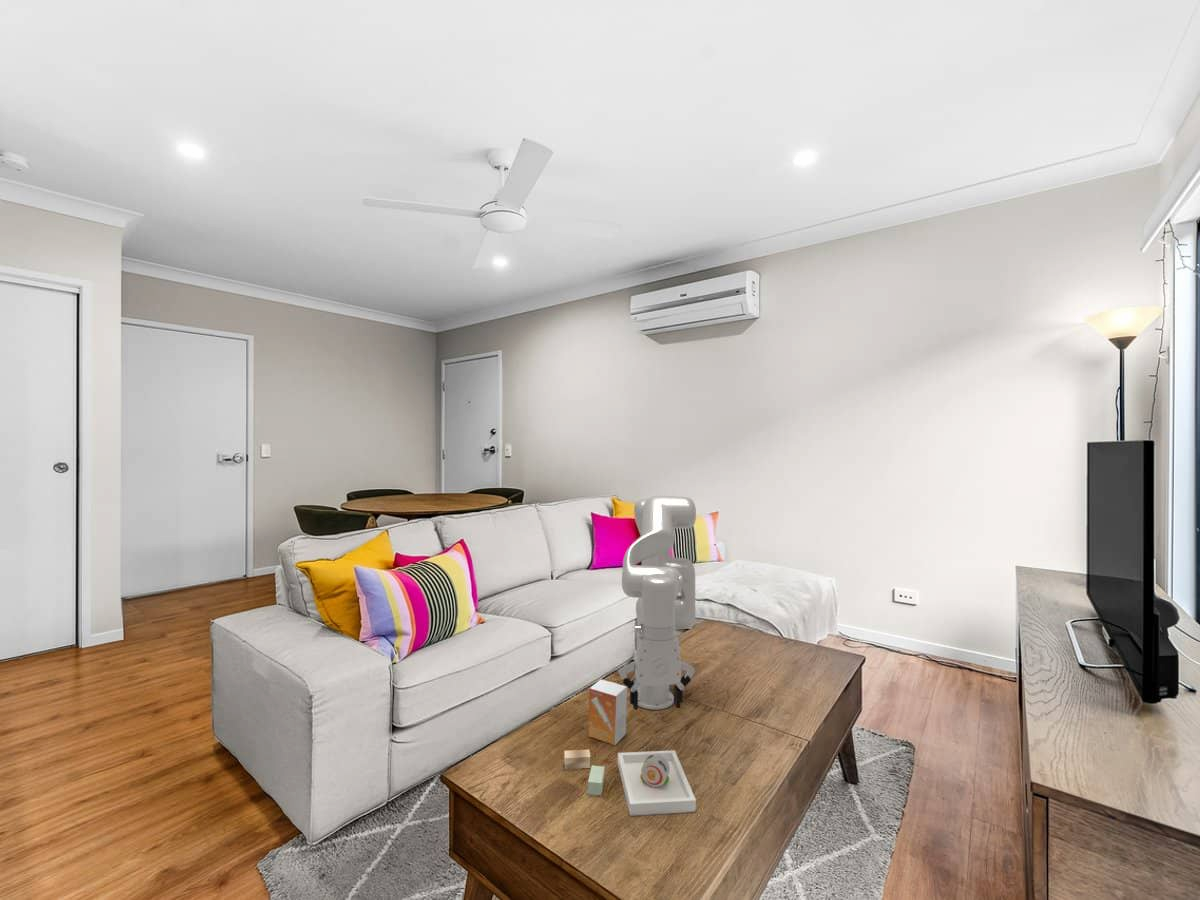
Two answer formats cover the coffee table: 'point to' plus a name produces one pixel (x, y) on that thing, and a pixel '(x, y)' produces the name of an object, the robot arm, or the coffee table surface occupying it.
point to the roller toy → (655, 770)
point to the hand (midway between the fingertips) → (655, 705)
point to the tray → (655, 799)
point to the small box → (607, 711)
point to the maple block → (577, 759)
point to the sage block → (596, 780)
